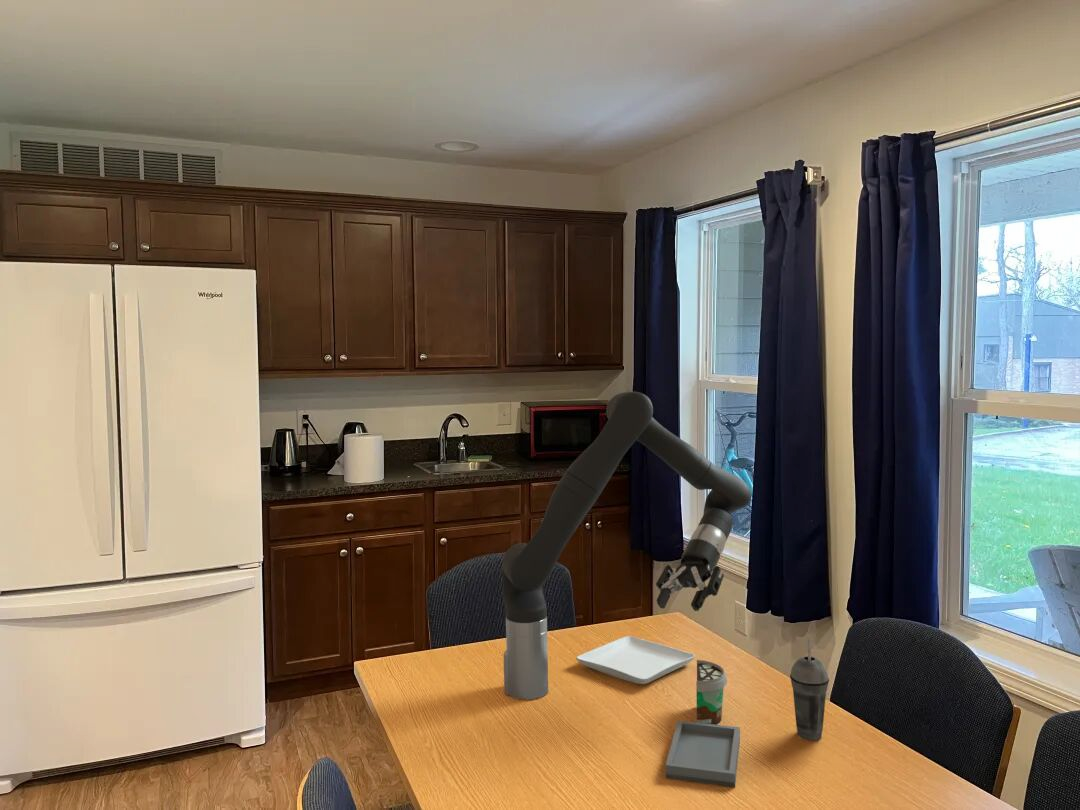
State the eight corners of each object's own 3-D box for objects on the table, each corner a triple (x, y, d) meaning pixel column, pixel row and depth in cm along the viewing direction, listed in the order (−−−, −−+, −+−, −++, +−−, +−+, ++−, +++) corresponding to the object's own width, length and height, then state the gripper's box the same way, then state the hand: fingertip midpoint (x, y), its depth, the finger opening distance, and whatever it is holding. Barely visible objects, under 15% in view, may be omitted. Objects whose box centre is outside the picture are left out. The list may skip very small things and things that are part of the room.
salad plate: (627, 646, 207) (627, 633, 207) (697, 667, 192) (697, 653, 192) (573, 670, 192) (573, 656, 192) (644, 694, 177) (644, 679, 177)
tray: (665, 778, 141) (665, 764, 141) (678, 732, 158) (677, 720, 158) (734, 787, 138) (734, 773, 138) (740, 739, 155) (740, 727, 155)
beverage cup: (828, 729, 158) (829, 631, 157) (829, 746, 151) (829, 643, 150) (790, 724, 160) (790, 627, 159) (789, 741, 154) (789, 640, 152)
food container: (728, 733, 158) (728, 683, 157) (696, 730, 159) (696, 681, 158) (726, 706, 170) (726, 660, 169) (697, 704, 171) (696, 658, 170)
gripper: (670, 537, 179) (641, 593, 169) (725, 537, 169) (698, 596, 160) (684, 560, 182) (657, 616, 172) (739, 561, 172) (714, 621, 163)
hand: (677, 607), depth 166 cm, fingers open, 8 cm apart
